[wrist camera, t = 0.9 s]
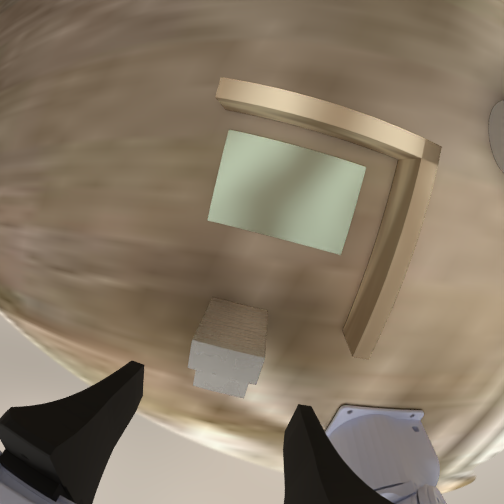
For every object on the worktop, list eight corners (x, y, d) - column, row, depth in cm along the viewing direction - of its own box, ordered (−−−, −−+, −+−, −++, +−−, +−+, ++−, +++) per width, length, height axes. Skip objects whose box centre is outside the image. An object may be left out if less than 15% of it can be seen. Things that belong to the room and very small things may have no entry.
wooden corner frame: (416, 149, 17) (441, 146, 14) (356, 333, 21) (368, 359, 18) (230, 92, 17) (221, 77, 14) (185, 292, 21) (170, 313, 18)
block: (212, 296, 21) (192, 339, 16) (267, 310, 21) (265, 357, 16) (198, 370, 23) (179, 421, 17) (246, 382, 23) (238, 435, 17)
